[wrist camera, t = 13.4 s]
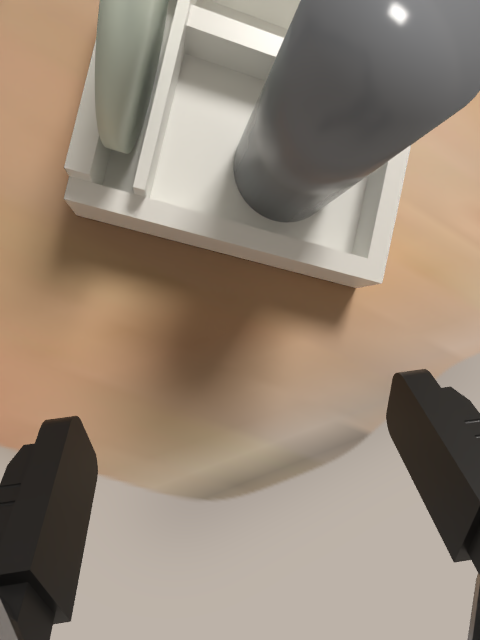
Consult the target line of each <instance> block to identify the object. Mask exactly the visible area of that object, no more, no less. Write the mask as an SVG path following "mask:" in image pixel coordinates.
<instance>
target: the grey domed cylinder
mask: <svg viewBox="0 0 480 640" xmlns="http://www.w3.org/2000/svg"><path fill="white" fill-rule="evenodd" d="M479 91H480V0H301V1H300V3H299V5H298V8H297V10H296V12H295V14H294V17H293V19H292V21H291V24H290V26H289V28H288V31H287V33H286V35H285V38H284V40H283V42H282V44H281V47H280V49H279V51H278V54H277V56H276V58H275V61H274V63H273V65H272V68H271V70H270V72H269V74H268V77H267V79H266V81H265V84H264V86H263V88H262V91H261V93H260V95H259V98H258V100H257V102H256V104H255V107H254V109H253V111H252V114H251V116H250V118H249V121H248V123H247V125H246V128H245V130H244V132H243V135H242V137H241V139H240V141H239V144H238V146H237V148H236V152H235V155H234V162H233V171H234V178H235V182H236V185H237V188H238V190H239V192H240V194H241V196H242V197H243V199H244V200H245V202H246V203H247V204H248V205H249V206H250V207H251V208H252V209H253V210H254V211H256V212H257V213H259V214H260V215H262V216H264V217H266V218H268V219H270V220H273V221H278V222H296V221H301V220H304V219H306V218H308V217H310V216H312V215H313V214H315V213H316V212H318V211H319V210H320V209H322V208H323V207H325V206H326V205H327V204H329V203H330V202H332V201H333V200H334V199H336V198H337V197H339V196H340V195H341V194H343V193H344V192H346V191H347V190H348V189H350V188H351V187H353V186H354V185H355V184H357V183H358V182H360V181H361V180H362V179H364V178H365V177H367V176H368V175H369V174H371V173H372V172H374V171H375V170H376V169H378V168H379V167H381V166H382V165H383V164H385V163H386V162H388V161H389V160H390V159H392V158H393V157H395V156H396V155H397V154H399V153H400V152H402V151H403V150H404V149H406V148H407V147H409V146H410V145H411V144H413V143H414V142H416V141H417V140H418V139H420V138H421V137H423V136H424V135H425V134H427V133H428V132H430V131H431V130H433V129H434V128H435V127H437V126H438V125H440V124H441V123H442V122H444V121H445V120H447V119H448V118H449V117H451V116H452V115H454V114H455V113H456V112H458V111H459V110H461V109H462V108H463V107H465V106H466V105H467V104H468V103H469V102H470V101H471V100H472V99H473V98H474V97H475V96H476V95H477V93H478V92H479Z"/></svg>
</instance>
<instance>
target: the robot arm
mask: <svg viewBox="0 0 480 640" xmlns="http://www.w3.org/2000/svg"><path fill="white" fill-rule="evenodd" d="M386 419H387V426H388V430H389V433H390V436H391V438H392V440H393V442H394V444H395V446H396V448H397V450H398V452H399V454H400V456H401V458H402V460H403V462H404V463H405V466H406V468H407V470H408V472H409V474H410V476H411V478H412V480H413V481H414V484H415V486H416V488H417V490H418V492H419V493H420V496H421V498H422V499H423V502H424V503H425V505H426V508H427V510H428V512H429V514H430V515H431V518H432V520H433V522H434V523H435V525H436V527H437V529H438V531H439V533H440V535H441V537H442V539H443V541H444V543H445V545H446V547H447V549H448V551H449V553H450V555H451V557H452V559H453V561H454V562H459V561H466V560H472V562H473V564H474V566H475V567H476V569H477V571H478V575H477V578H476V584H475V592H474V598H473V605H472V612H471V619H470V627H469V633H468V640H480V413H479V412H478V411H477V409H476V408H475V407H474V405H473V404H472V403H471V401H470V400H468V399H467V398H466V397H464V396H462V395H461V394H460V393H458V392H457V391H456V390H454V389H453V388H452V387H445V388H441V387H440V386H439V384H438V383H437V381H436V380H435V379H434V377H433V376H432V374H431V373H430V372H429V371H428V370H426V369H422V370H414V371H407V372H400V373H395V374H394V376H393V379H392V385H391V391H390V396H389V402H388V407H387V413H386ZM97 475H98V465H97V458H96V454H95V451H94V449H93V447H92V444H91V442H90V440H89V438H88V435H87V433H86V431H85V429H84V426H83V424H82V422H81V420H80V418H79V417H78V416H72V417H65V418H57V419H50V420H45V421H44V422H43V423H42V425H41V428H40V430H39V433H38V436H37V439H36V442H35V444H29V445H23V447H22V448H21V449H20V450H19V452H18V453H17V454H16V455H15V457H14V458H13V459H12V460H11V461H10V463H9V464H8V466H7V468H6V471H5V473H4V476H3V478H2V481H1V483H0V640H50V635H51V630H52V626H53V624H58V623H64V622H70V621H71V617H72V612H73V606H74V601H75V595H76V590H77V585H78V579H79V574H80V568H81V563H82V558H83V552H84V546H85V541H86V536H87V530H88V525H89V520H90V514H91V508H92V503H93V498H94V493H95V487H96V482H97Z"/></svg>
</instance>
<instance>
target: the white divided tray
mask: <svg viewBox="0 0 480 640" xmlns="http://www.w3.org/2000/svg"><path fill="white" fill-rule="evenodd" d="M300 1H301V0H100V4H99V14H98V24H97V37H96V41H95V45H94V49H93V53H92V57H91V61H90V66H89V70H88V74H87V78H86V82H85V86H84V90H83V94H82V98H81V102H80V106H79V110H78V114H77V118H76V122H75V126H74V130H73V134H72V138H71V142H70V146H69V150H68V154H67V158H66V162H65V166H64V168H65V170H66V172H67V173H68V175H69V179H68V183H67V187H66V192H65V196H64V200H65V201H66V202H67V204H68V205H69V206H70V207H71V209H72V210H73V211H74V213H75V214H76V215H77V216H81V217H85V218H89V219H93V220H97V221H100V222H104V223H108V224H112V225H116V226H120V227H123V228H127V229H131V230H135V231H139V232H143V233H146V234H150V235H154V236H158V237H162V238H166V239H169V240H173V241H177V242H181V243H185V244H189V245H192V246H196V247H200V248H204V249H208V250H212V251H215V252H219V253H223V254H227V255H231V256H235V257H239V258H242V259H246V260H250V261H254V262H258V263H262V264H265V265H269V266H273V267H277V268H281V269H285V270H288V271H292V272H296V273H300V274H304V275H308V276H311V277H315V278H319V279H323V280H327V281H331V282H334V283H338V284H342V285H346V286H350V287H354V288H360V287H365V286H371V285H376V284H382V282H383V277H384V272H385V267H386V262H387V258H388V253H389V248H390V243H391V239H392V234H393V229H394V224H395V219H396V215H397V210H398V205H399V200H400V195H401V191H402V186H403V181H404V176H405V171H406V167H407V162H408V157H409V152H410V148H411V145H410V146H409V147H407V148H406V149H404V150H403V151H402V152H400V153H399V154H397V155H396V156H395V157H393V158H392V159H390V160H389V161H388V162H386V163H385V164H383V165H382V166H381V167H379V168H378V169H376V170H375V171H374V172H372V173H371V174H369V175H368V176H367V177H365V178H364V179H362V180H361V181H360V182H358V183H357V184H355V185H354V186H353V187H351V188H350V189H348V190H347V191H346V192H344V193H343V194H341V195H340V196H339V197H337V198H336V199H334V200H333V201H332V202H330V203H329V204H327V205H326V206H325V207H323V208H322V209H320V210H319V211H318V212H316V213H315V214H313V215H312V216H310V217H308V218H306V219H304V220H301V221H296V222H278V221H273V220H270V219H268V218H266V217H264V216H262V215H260V214H259V213H257V212H256V211H254V210H253V209H252V208H251V207H250V206H249V205H248V204H247V203H246V202H245V200H244V199H243V197H242V196H241V194H240V192H239V190H238V188H237V185H236V182H235V178H234V171H233V162H234V155H235V152H236V148H237V146H238V144H239V141H240V139H241V137H242V135H243V132H244V130H245V128H246V125H247V123H248V121H249V118H250V116H251V114H252V111H253V109H254V107H255V104H256V102H257V100H258V98H259V95H260V93H261V91H262V88H263V86H264V84H265V81H266V79H267V77H268V74H269V72H270V70H271V68H272V65H273V63H274V61H275V58H276V56H277V54H278V51H279V49H280V47H281V44H282V42H283V40H284V38H285V35H286V33H287V31H288V28H289V26H290V24H291V21H292V19H293V17H294V14H295V12H296V10H297V8H298V5H299V3H300Z"/></svg>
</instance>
